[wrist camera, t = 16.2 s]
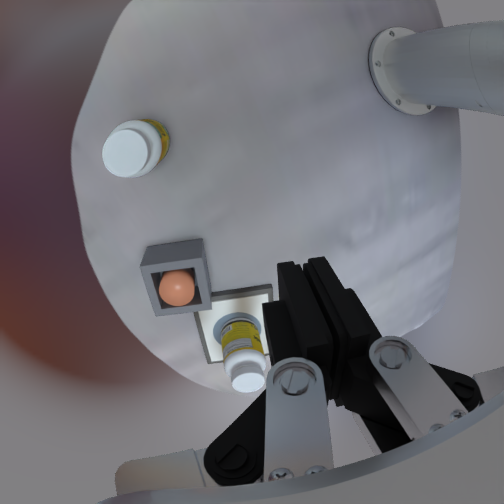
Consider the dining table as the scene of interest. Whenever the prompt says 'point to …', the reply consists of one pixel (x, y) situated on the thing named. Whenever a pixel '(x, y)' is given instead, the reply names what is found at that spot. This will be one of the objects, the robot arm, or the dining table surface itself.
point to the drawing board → (232, 317)
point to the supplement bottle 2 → (243, 354)
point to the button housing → (173, 259)
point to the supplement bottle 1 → (135, 148)
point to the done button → (177, 286)
